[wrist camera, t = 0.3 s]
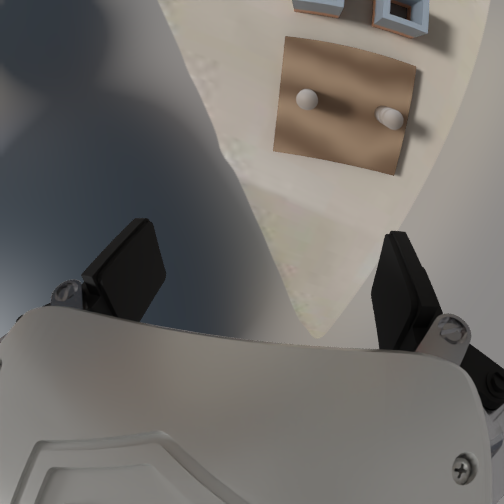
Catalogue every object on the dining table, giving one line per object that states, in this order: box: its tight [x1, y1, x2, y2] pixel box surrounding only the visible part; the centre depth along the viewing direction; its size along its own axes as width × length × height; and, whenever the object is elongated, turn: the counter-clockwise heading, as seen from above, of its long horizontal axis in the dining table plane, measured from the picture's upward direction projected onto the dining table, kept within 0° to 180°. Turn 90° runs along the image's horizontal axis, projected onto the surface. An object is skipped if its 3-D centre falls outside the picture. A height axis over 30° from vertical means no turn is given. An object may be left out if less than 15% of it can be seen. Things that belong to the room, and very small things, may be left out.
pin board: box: [273, 36, 416, 176], centre depth 29 cm, size 16×17×6 cm
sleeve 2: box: [372, 0, 429, 39], centre depth 20 cm, size 6×6×6 cm
